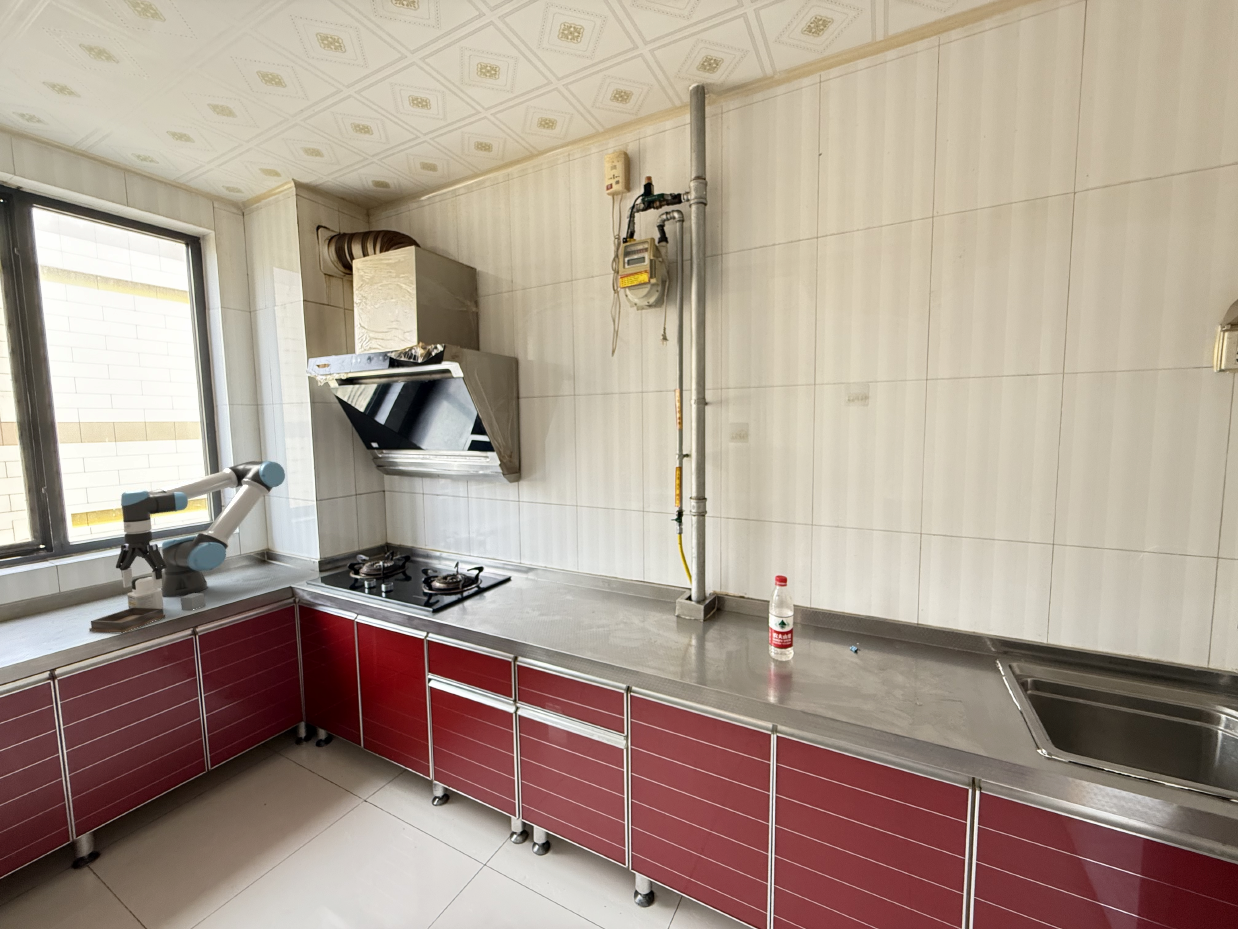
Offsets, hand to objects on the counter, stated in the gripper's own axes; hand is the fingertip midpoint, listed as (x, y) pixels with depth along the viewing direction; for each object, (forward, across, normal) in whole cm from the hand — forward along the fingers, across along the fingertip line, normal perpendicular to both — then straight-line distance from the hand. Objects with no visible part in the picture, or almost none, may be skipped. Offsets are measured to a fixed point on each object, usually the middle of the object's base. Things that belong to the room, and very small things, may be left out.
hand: (142, 587), depth 194 cm
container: (+10, 0, 0) cm, 10 cm away
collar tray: (+10, +8, -12) cm, 17 cm away
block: (+9, +16, +6) cm, 19 cm away
